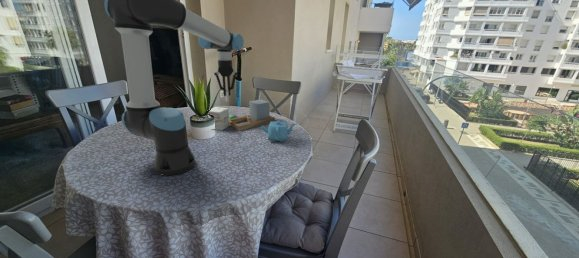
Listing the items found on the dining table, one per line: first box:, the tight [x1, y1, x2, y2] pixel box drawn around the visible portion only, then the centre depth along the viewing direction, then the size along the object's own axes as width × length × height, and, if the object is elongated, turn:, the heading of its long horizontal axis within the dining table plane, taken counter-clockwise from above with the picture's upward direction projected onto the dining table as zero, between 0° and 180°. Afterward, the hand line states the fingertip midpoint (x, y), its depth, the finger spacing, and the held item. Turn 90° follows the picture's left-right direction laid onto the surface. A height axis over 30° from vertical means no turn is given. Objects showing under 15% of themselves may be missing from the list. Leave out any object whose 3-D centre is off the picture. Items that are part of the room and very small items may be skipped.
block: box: [248, 99, 270, 121], centre depth 146 cm, size 8×9×12 cm
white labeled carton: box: [209, 106, 230, 131], centre depth 135 cm, size 9×8×12 cm
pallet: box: [229, 114, 276, 132], centre depth 144 cm, size 14×25×4 cm, turn 132°
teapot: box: [260, 120, 296, 143], centre depth 124 cm, size 18×14×10 cm
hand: (227, 101), depth 141 cm, fingers closed
